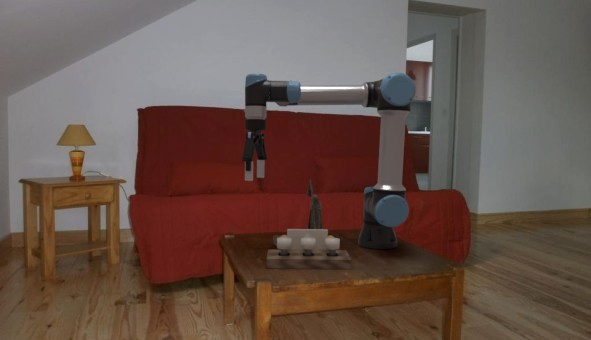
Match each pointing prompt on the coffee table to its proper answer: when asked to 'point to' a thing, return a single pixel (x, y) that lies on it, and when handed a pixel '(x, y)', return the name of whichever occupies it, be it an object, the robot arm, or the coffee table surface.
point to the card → (301, 233)
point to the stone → (275, 239)
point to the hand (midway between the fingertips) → (255, 179)
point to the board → (308, 260)
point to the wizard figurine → (314, 210)
